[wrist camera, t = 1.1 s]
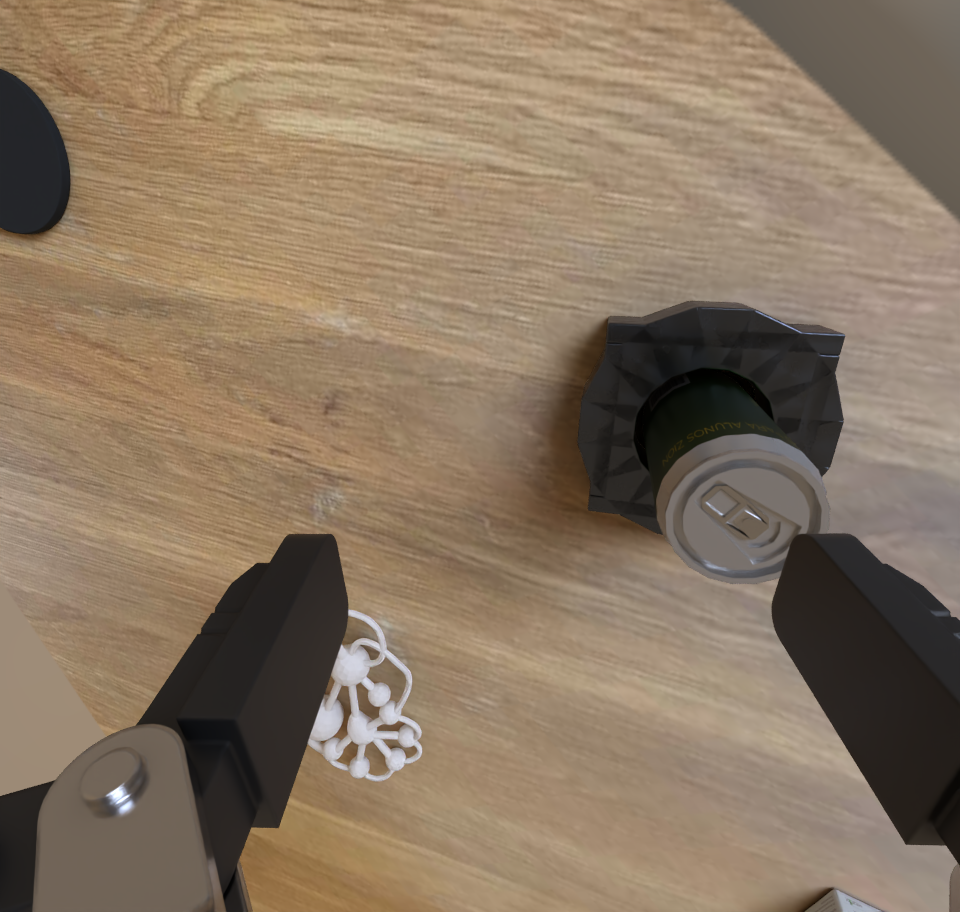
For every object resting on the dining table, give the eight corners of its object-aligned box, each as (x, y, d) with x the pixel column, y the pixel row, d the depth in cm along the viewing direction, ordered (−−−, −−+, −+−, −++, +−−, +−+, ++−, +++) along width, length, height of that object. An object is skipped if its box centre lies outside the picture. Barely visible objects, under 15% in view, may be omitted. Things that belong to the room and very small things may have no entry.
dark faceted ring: (592, 297, 27) (590, 302, 24) (846, 306, 24) (876, 313, 21) (573, 499, 31) (569, 523, 28) (786, 525, 29) (804, 553, 26)
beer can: (620, 421, 29) (624, 524, 18) (691, 344, 26) (745, 409, 16) (694, 479, 29) (743, 616, 18) (771, 408, 27) (880, 517, 16)
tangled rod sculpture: (475, 736, 42) (467, 784, 38) (336, 773, 46) (316, 820, 42) (350, 546, 37) (326, 579, 33) (208, 607, 41) (172, 642, 38)
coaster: (-74, 70, 31) (-87, 67, 30) (44, 61, 29) (33, 58, 28) (-22, 233, 34) (-32, 233, 34) (87, 234, 32) (78, 234, 32)
